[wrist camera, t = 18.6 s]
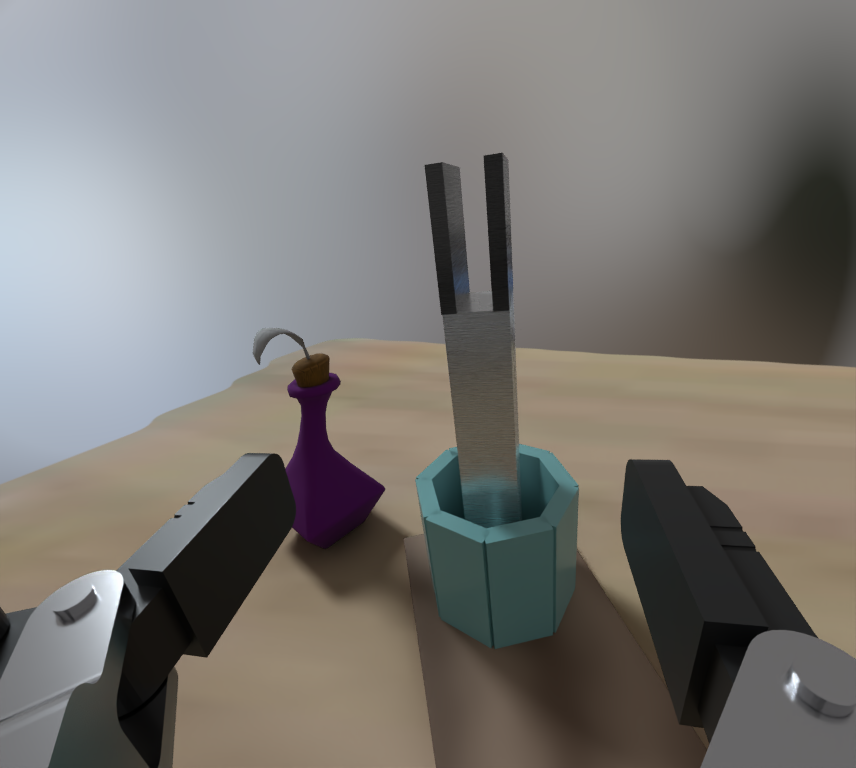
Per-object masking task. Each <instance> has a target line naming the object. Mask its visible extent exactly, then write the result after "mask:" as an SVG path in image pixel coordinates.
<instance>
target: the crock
mask: <svg viewBox="0 0 856 768" xmlns="http://www.w3.org/2000/svg"><path fill="white" fill-rule="evenodd" d="M519 454H520V479H521V504H522V521H519V522H514V523H509V524H504V525H500V526H495V527H490V528H484V527H482V526H479V525H477V524H474V523H472V522H469V521H467V520H465V513H464V504H463V495H462V486H461V478H460V469H459V460H458V451H457V447H454V448H449V450H446V451H444V452H443V453H442V454H441V455H440V456H439V457H438V458H437V459H436V460H435V461H434V462H432V463H431V464H430V465H429V466H428V467H427V468H426V469H425V470H424V471H423V472H422V473H420V474H419V475H418V476H417V477H416V479H415V481H416V487H417V494H418V500H419V506H420V512H421V519H422V525H423V531H424V537H425V543H426V550H427V556H428V562H429V568H430V574H431V579H432V584H433V589H434V594H435V599H436V604H437V609H438V614H439V617H441V620H443V621H445V622H446V623H448V624H450V625H452V626H453V627H455V628H457V629H458V630H460V631H462V632H464V633H465V634H467V635H469V636H470V637H472V638H474V639H476V640H477V641H479V642H481V643H482V644H484V645H486V646H488V647H489V648H492V646H493V645H494V648H495V649H498V648H502V647H506V646H510V645H514V644H518V643H522V642H527V641H531V640H535V639H539V638H543V637H547V636H551V635H553V632H555V633H556V631H557V629H558V627H559V624H560V622H561V620H562V617H563V615H564V613H565V611H566V608H567V606H568V604H569V602H570V599H571V597H572V595H573V592H574V590H575V583H576V554H577V526H578V497H579V488H578V486H579V485H578V484H577V483H576V482H575V480H574V479H573V478H572V477H571V476H570V474H569V473H568V472H567V471H566V469H565V468H564V467H563V466H562V464H561V463H560V462H559V461H558V459H557V458H556V457H555V456H554V455H553V453H550V451H546V450H542V449H538V448H534V447H530V446H526V445H522V444H519Z"/></svg>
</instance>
